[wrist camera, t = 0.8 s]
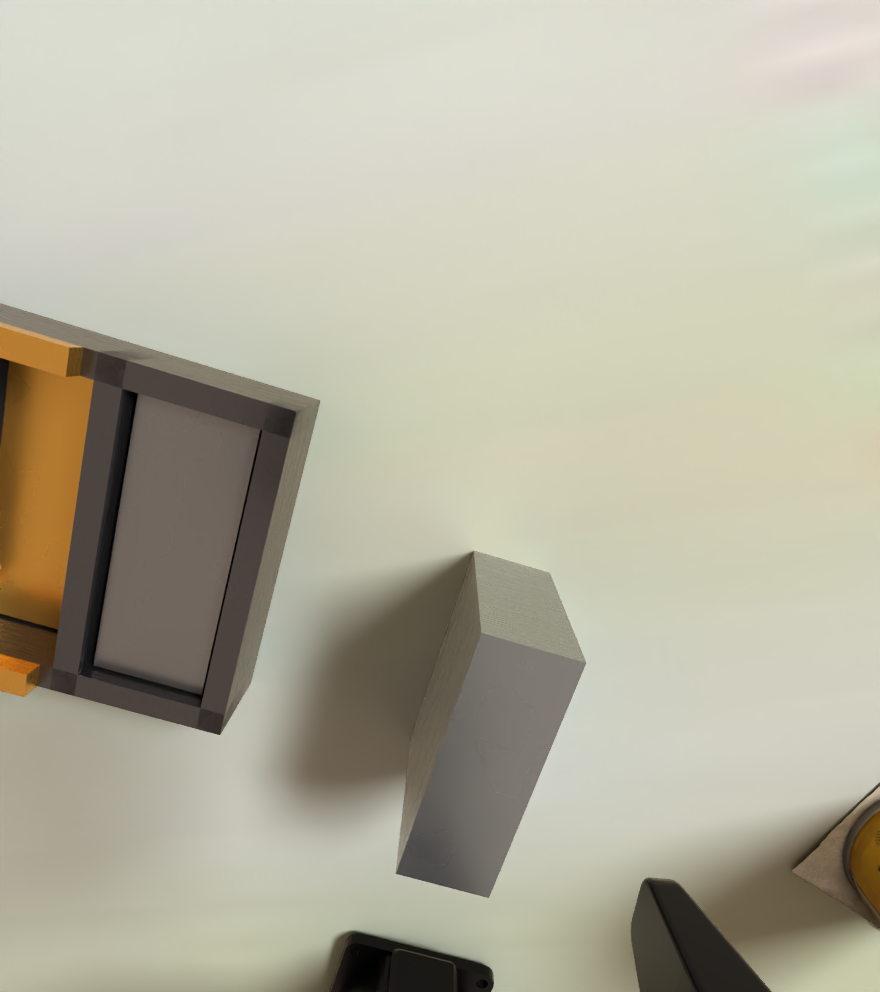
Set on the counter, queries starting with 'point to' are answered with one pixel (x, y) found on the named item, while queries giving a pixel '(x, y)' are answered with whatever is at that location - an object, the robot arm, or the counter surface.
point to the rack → (138, 520)
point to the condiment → (850, 861)
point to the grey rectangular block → (486, 724)
